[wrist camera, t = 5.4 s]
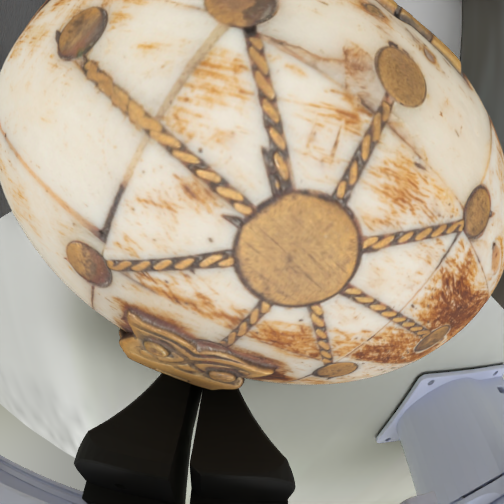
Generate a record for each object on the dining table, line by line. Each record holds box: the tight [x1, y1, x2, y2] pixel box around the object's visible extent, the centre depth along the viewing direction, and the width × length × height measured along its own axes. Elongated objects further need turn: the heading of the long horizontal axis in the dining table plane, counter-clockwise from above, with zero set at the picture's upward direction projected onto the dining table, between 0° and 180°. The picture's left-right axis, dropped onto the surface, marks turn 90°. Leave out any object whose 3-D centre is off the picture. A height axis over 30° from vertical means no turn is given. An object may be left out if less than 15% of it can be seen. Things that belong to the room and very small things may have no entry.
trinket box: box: [0, 0, 504, 390], centre depth 8 cm, size 13×15×8 cm
